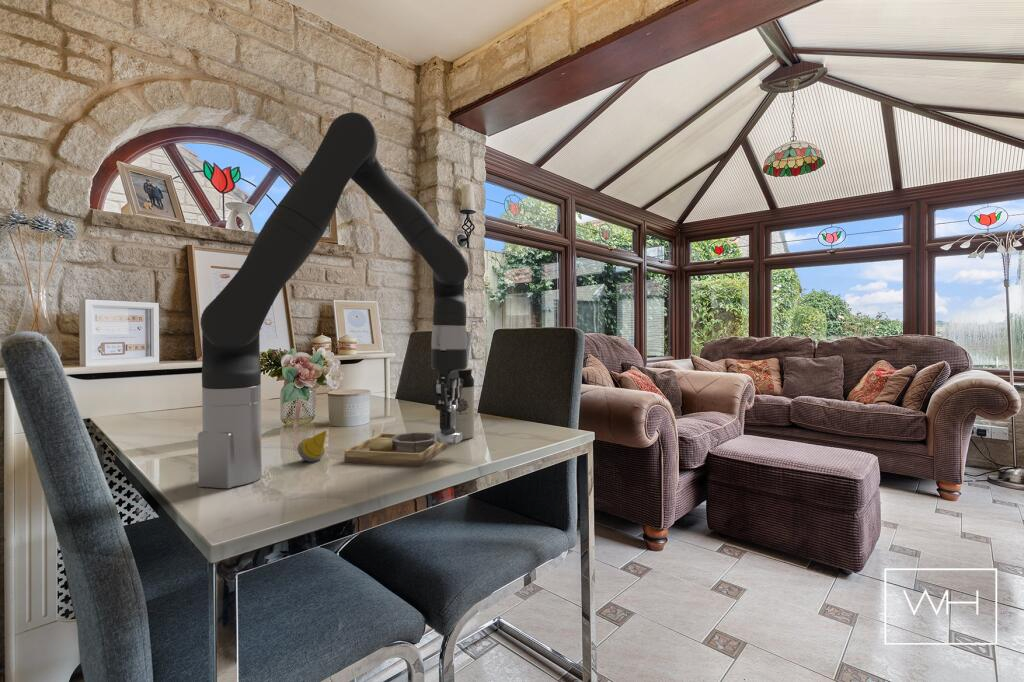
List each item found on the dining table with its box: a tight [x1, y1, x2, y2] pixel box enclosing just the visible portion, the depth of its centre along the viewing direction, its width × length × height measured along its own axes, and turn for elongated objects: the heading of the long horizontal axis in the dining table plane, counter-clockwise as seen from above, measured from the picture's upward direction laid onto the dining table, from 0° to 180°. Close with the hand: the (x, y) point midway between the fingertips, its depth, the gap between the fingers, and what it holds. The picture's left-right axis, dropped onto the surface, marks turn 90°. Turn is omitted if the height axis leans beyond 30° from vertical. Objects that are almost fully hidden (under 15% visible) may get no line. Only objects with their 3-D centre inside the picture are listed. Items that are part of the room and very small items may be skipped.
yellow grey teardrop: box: [297, 430, 327, 463], centre depth 100 cm, size 5×5×10 cm
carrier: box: [343, 431, 449, 467], centre depth 106 cm, size 17×17×4 cm
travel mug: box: [443, 366, 475, 441], centre depth 123 cm, size 8×8×18 cm
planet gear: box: [432, 404, 463, 444], centre depth 102 cm, size 6×6×8 cm
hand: (448, 427), depth 102 cm, fingers closed on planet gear, 3 cm apart
